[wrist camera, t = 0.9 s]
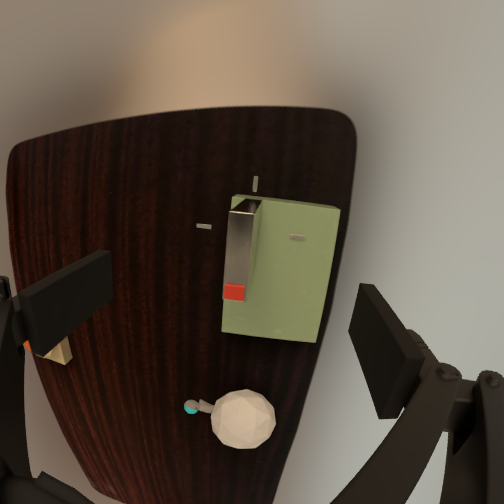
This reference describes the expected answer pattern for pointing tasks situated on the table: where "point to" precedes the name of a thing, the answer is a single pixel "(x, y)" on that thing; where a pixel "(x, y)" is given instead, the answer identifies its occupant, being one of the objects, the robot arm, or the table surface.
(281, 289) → the clamp block
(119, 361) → the table surface
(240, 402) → the perfume bottle
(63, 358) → the box
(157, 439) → the table surface
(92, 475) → the table surface
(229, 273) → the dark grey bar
